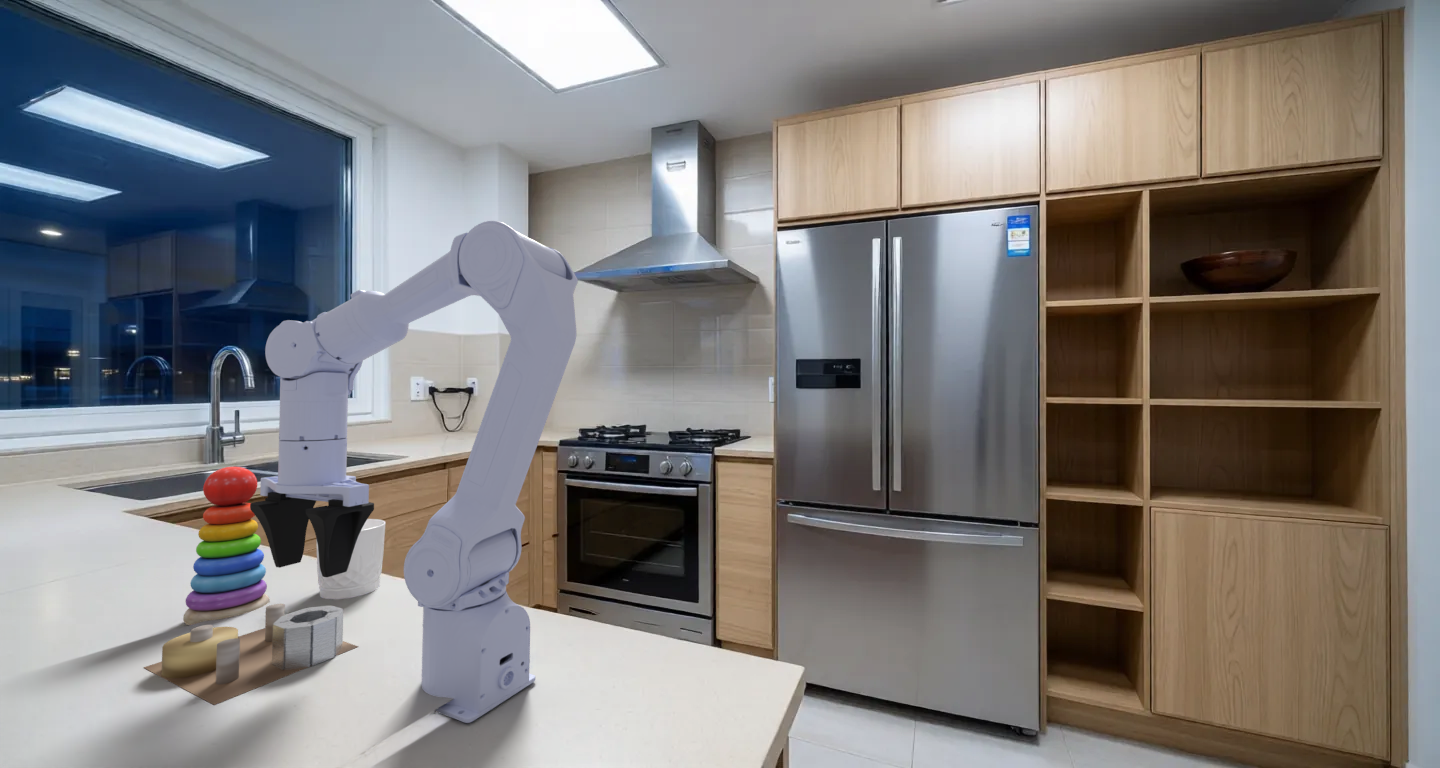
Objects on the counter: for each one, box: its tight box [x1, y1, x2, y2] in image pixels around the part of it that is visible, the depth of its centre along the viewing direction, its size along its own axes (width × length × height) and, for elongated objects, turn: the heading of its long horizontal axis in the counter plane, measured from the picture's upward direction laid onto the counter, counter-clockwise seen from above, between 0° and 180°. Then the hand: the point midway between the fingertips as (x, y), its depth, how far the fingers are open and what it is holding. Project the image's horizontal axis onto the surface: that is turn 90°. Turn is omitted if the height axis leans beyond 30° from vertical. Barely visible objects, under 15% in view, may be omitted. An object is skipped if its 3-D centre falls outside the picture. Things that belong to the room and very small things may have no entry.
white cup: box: [315, 518, 386, 600], centre depth 73 cm, size 8×8×10 cm
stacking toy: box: [182, 466, 271, 626], centre depth 67 cm, size 8×8×19 cm
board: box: [143, 603, 359, 706], centre depth 55 cm, size 14×12×5 cm
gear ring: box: [272, 604, 344, 670], centre depth 55 cm, size 5×5×4 cm
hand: (311, 569), depth 56 cm, fingers open, 7 cm apart
